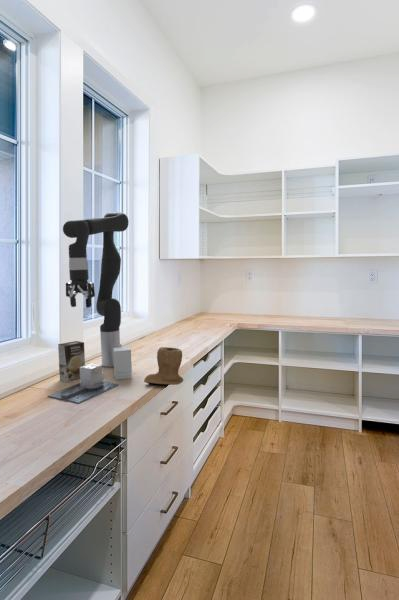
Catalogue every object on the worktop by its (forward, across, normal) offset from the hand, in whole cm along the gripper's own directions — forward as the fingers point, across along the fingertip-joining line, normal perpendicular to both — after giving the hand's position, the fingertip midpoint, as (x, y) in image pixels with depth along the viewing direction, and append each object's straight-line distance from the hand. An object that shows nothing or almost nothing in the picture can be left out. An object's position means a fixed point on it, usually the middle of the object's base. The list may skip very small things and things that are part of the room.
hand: (81, 307), depth 157 cm
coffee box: (+32, +6, +1) cm, 33 cm away
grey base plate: (+32, -10, +10) cm, 35 cm away
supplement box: (+32, -12, -11) cm, 36 cm away
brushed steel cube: (+30, -10, +6) cm, 32 cm away
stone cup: (+32, -34, -12) cm, 48 cm away
